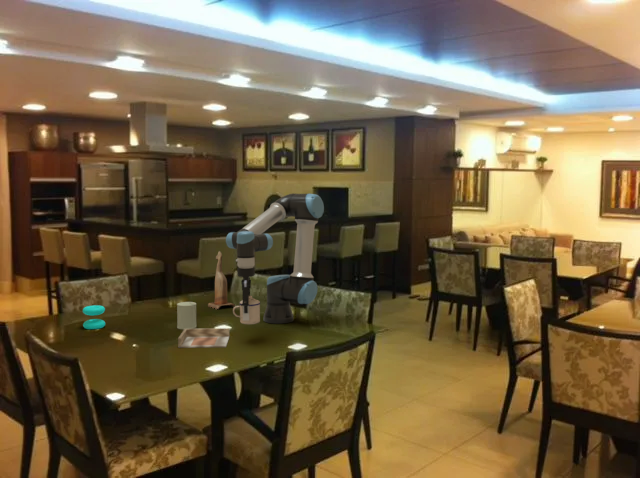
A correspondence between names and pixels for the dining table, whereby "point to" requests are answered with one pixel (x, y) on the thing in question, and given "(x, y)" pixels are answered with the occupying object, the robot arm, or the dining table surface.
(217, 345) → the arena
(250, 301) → the teacup with lid
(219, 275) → the bird sculpture
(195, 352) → the dining table surface
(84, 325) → the donuts
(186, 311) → the can
